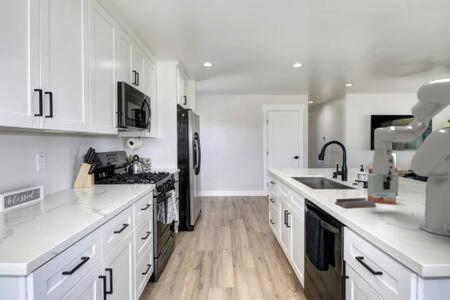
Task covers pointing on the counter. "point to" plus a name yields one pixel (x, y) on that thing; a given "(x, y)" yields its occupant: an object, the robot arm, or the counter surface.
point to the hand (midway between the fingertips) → (382, 188)
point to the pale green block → (381, 184)
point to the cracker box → (382, 197)
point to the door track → (355, 203)
